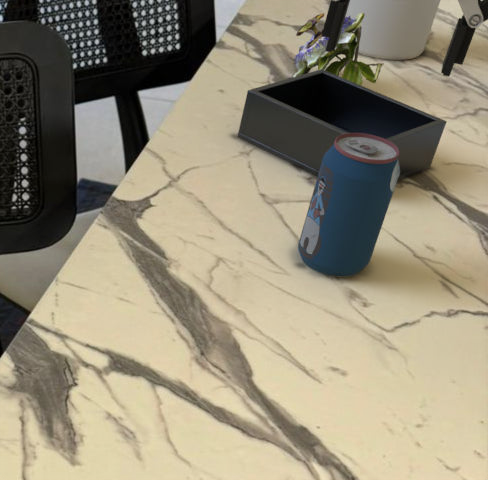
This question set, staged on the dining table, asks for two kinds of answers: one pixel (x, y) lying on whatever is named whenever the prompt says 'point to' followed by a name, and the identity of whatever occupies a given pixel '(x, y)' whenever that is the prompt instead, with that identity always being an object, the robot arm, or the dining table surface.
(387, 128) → the dark grey open box
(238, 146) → the dining table surface
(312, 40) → the passion flower
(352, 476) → the dining table surface
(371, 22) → the cylinder vase
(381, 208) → the soda can
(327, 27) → the robot arm
